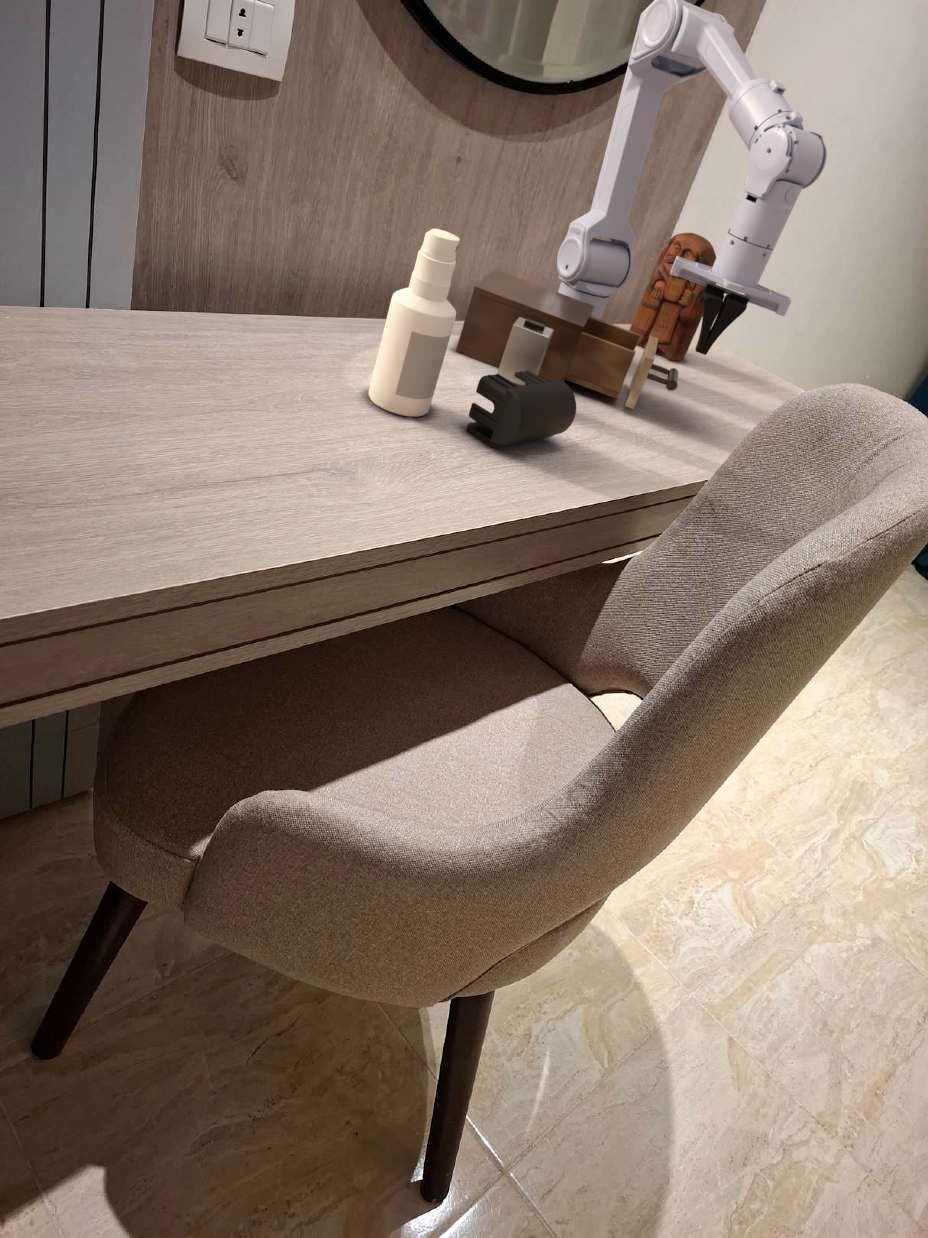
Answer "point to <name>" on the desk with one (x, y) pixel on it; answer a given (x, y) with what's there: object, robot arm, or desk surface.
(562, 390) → the end cap
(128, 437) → the desk surface
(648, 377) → the drawer
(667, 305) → the wooden figurine
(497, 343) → the cabinet
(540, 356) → the grey rectangular block
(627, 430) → the desk surface
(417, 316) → the spray bottle
